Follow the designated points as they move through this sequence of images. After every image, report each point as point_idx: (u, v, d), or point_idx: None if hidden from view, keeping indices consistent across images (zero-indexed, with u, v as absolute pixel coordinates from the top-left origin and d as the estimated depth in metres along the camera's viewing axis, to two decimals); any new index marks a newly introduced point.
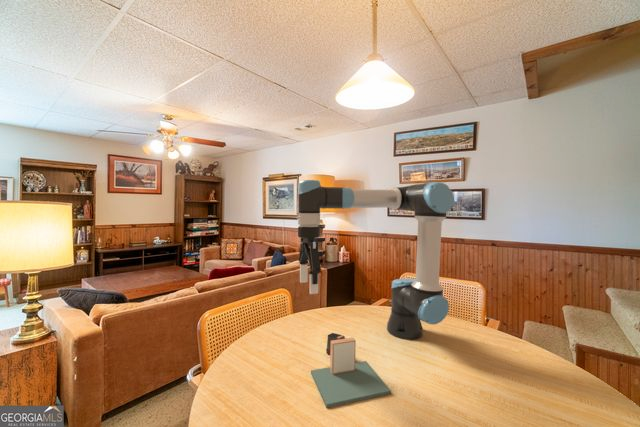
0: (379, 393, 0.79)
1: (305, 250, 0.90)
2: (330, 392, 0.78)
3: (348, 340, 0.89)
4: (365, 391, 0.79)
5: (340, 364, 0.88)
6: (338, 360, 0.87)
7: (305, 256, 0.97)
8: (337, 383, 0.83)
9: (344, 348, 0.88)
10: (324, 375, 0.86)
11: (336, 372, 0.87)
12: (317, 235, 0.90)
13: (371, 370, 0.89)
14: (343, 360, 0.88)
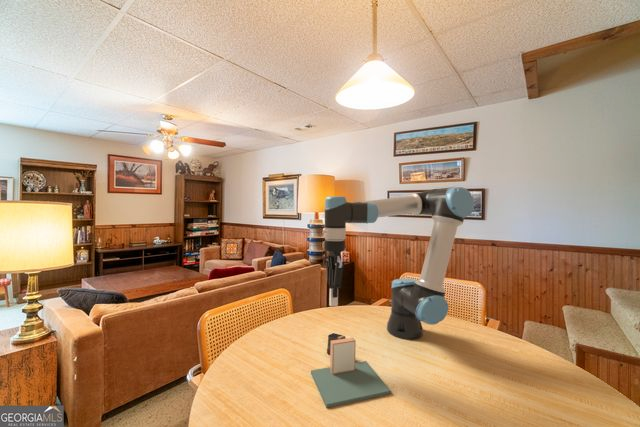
0: (379, 393, 0.79)
1: (330, 263, 0.96)
2: (330, 392, 0.78)
3: (348, 340, 0.89)
4: (365, 391, 0.79)
5: (340, 364, 0.88)
6: (338, 360, 0.87)
7: None
8: (337, 383, 0.83)
9: (344, 348, 0.88)
10: (324, 375, 0.86)
11: (336, 372, 0.87)
12: (343, 249, 0.95)
13: (371, 370, 0.89)
14: (343, 360, 0.88)
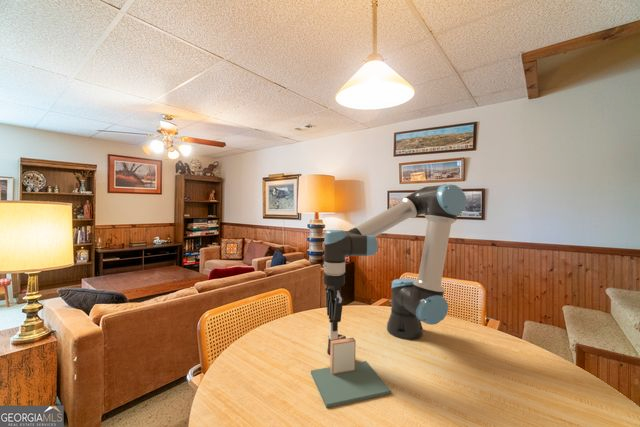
0: (379, 393, 0.79)
1: (330, 297, 0.96)
2: (330, 392, 0.78)
3: (348, 340, 0.89)
4: (365, 391, 0.79)
5: (340, 364, 0.88)
6: (338, 360, 0.87)
7: None
8: (337, 383, 0.83)
9: (344, 348, 0.88)
10: (324, 375, 0.86)
11: (336, 372, 0.87)
12: (343, 283, 0.95)
13: (371, 370, 0.89)
14: (343, 360, 0.88)
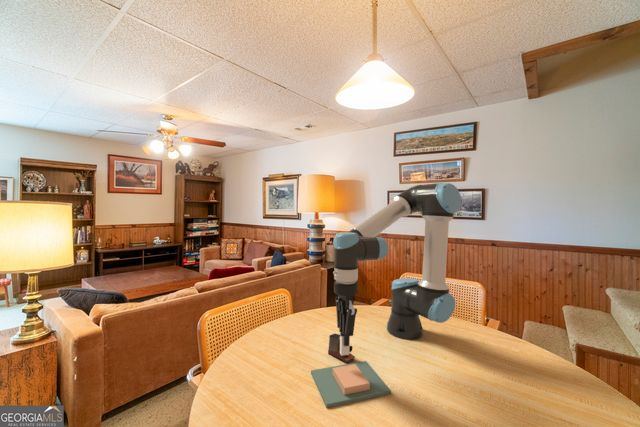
0: (379, 393, 0.79)
1: (341, 307, 0.86)
2: (330, 392, 0.78)
3: (362, 389, 0.79)
4: (365, 391, 0.79)
5: None
6: None
7: None
8: (337, 383, 0.83)
9: None
10: (324, 375, 0.86)
11: None
12: (355, 292, 0.85)
13: (371, 370, 0.89)
14: None
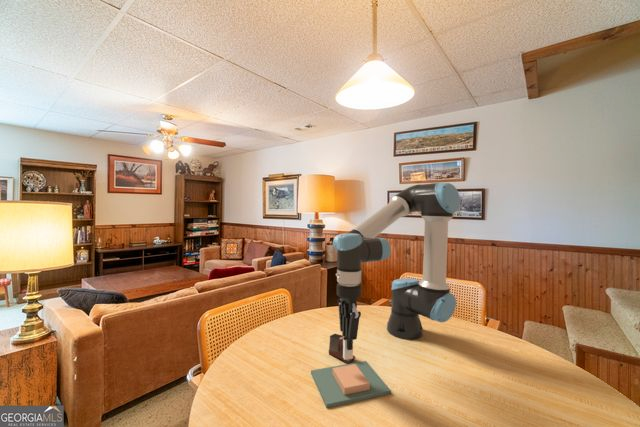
0: (379, 393, 0.79)
1: (344, 310, 0.84)
2: (330, 392, 0.78)
3: (362, 389, 0.79)
4: (365, 391, 0.79)
5: None
6: None
7: None
8: (337, 383, 0.83)
9: None
10: (324, 375, 0.86)
11: None
12: (359, 295, 0.82)
13: (371, 370, 0.89)
14: None
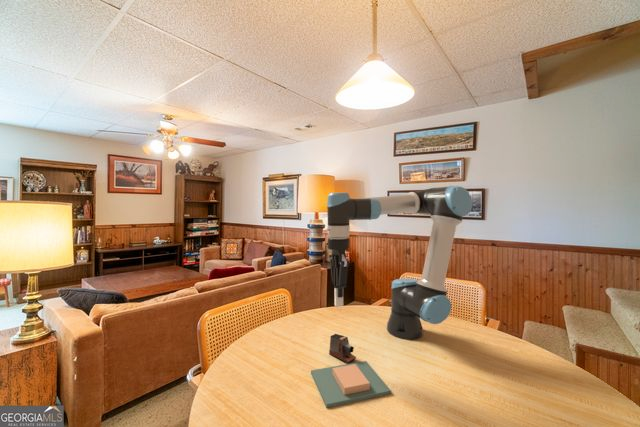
0: (379, 393, 0.79)
1: (334, 262, 0.92)
2: (330, 392, 0.78)
3: (362, 389, 0.79)
4: (365, 391, 0.79)
5: None
6: None
7: None
8: (337, 383, 0.83)
9: None
10: (324, 375, 0.86)
11: None
12: (347, 247, 0.91)
13: (371, 370, 0.89)
14: None
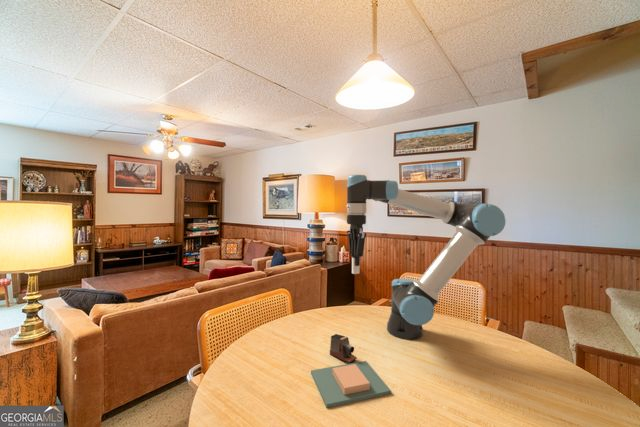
0: (379, 393, 0.79)
1: (353, 235, 1.07)
2: (330, 392, 0.78)
3: (362, 389, 0.79)
4: (365, 391, 0.79)
5: None
6: None
7: None
8: (337, 383, 0.83)
9: None
10: (324, 375, 0.86)
11: None
12: (364, 222, 1.06)
13: (371, 370, 0.89)
14: None
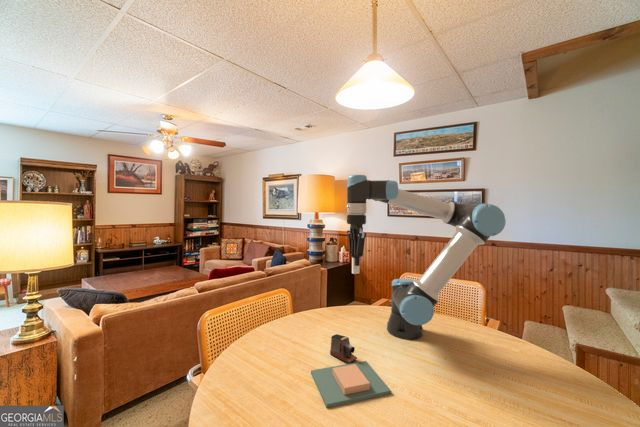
0: (379, 393, 0.79)
1: (353, 235, 1.07)
2: (330, 392, 0.78)
3: (362, 389, 0.79)
4: (365, 391, 0.79)
5: None
6: None
7: None
8: (337, 383, 0.83)
9: None
10: (324, 375, 0.86)
11: None
12: (364, 222, 1.06)
13: (371, 370, 0.89)
14: None
